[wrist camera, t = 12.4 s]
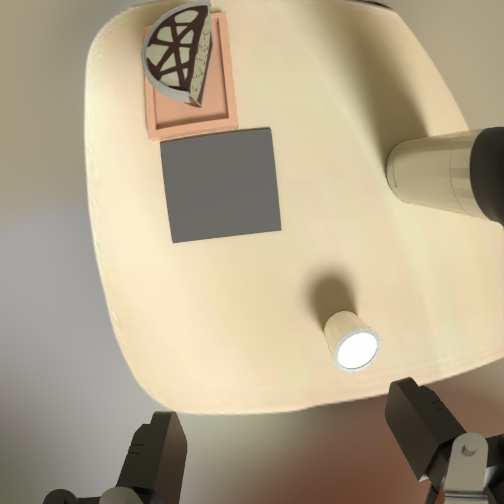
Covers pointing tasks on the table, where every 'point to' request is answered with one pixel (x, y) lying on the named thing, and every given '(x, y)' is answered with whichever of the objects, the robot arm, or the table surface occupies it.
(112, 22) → the table surface
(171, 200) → the mat
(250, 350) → the table surface
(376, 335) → the white cup
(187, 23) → the food container
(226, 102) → the dish
